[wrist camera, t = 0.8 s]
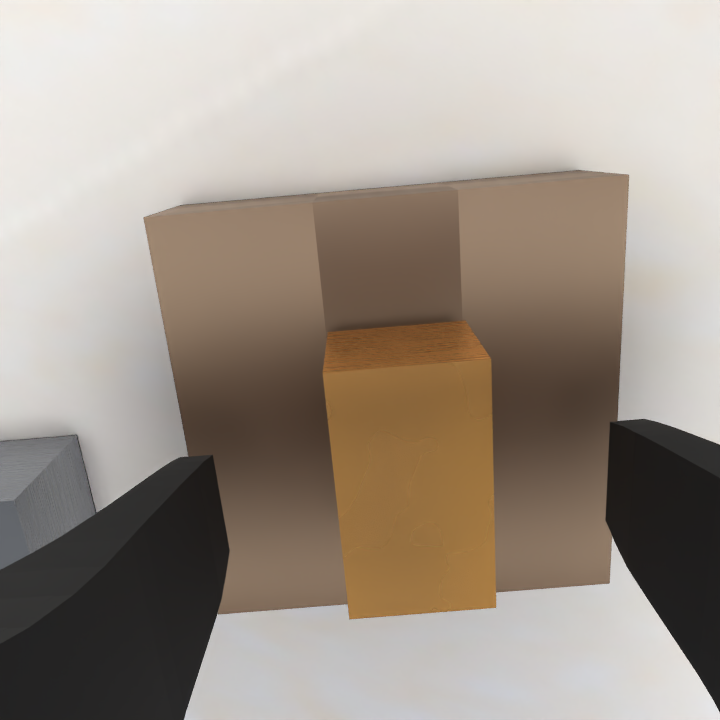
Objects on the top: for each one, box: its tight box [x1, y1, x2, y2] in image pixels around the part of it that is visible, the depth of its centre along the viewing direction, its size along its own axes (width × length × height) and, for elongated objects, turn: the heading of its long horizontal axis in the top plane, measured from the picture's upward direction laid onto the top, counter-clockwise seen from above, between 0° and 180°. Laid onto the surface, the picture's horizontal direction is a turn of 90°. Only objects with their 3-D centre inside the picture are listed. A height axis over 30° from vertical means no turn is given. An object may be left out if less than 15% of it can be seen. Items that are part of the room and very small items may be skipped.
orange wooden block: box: [323, 320, 496, 619], centre depth 14 cm, size 5×3×6 cm, turn 5°
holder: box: [144, 170, 629, 614], centre depth 16 cm, size 10×10×3 cm
